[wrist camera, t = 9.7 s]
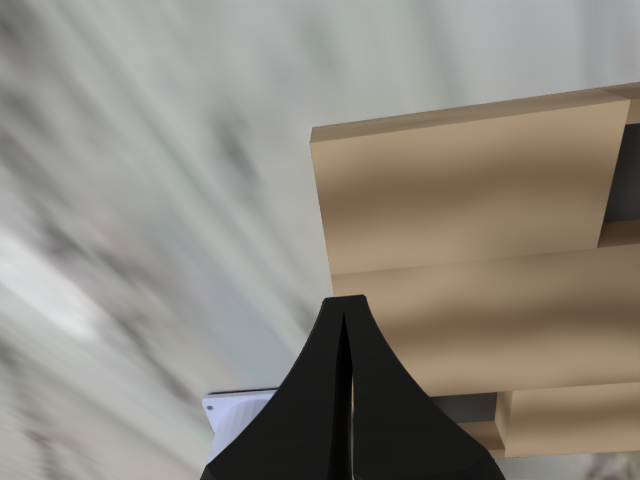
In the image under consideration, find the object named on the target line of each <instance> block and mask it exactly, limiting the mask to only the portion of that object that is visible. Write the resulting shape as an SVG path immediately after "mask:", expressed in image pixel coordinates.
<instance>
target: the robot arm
mask: <svg viewBox="0 0 640 480" xmlns="http://www.w3.org/2000/svg"><path fill="white" fill-rule="evenodd" d="M352 382H353V414H354V444H353V475H354V480H505V478H504V476H503V474H502V472H501V470H500V469H499V467H498V465H497V464H496V462H495V460H494V459H493V457H492V456H491V454H490V453H489V451H488V450H487V449H486V448H485V447H484V446H483V445H481V444H480V443H479V442H478V441H477V440H475V439H474V438H473V437H472V436H470V435H469V434H468V433H467V432H466V431H465V430H463V429H462V428H461V427H460V426H459V425H458V424H457V423H456V422H454V421H453V420H452V419H451V418H450V417H449V416H448V415H447V414H446V413H445V412H444V411H443V410H442V409H441V408H440V407H439V406H438V405H437V404H436V403H435V402H434V401H433V400H432V399H431V398H430V397H429V396H428V395H427V394H426V393H425V392H424V391H423V389H422V388H421V387H420V386H419V385H418V384H417V382H416V381H415V380H414V379H413V378H412V376H411V375H410V374H409V373H408V371H407V370H406V369H405V368H404V366H403V365H402V363H401V362H400V361H399V359H398V358H397V356H396V355H395V353H394V352H393V351H392V349H391V348H390V346H389V344H388V343H387V341H386V340H385V338H384V336H383V334H382V333H381V331H380V329H379V327H378V325H377V323H376V321H375V319H374V317H373V315H372V313H371V310H370V308H369V305H368V302H367V297H366V296H365V295H363V294H360V295H350V296H340V297H329V298H325V299H324V300H323V302H322V306H321V309H320V312H319V315H318V317H317V320H316V322H315V324H314V327H313V329H312V331H311V333H310V335H309V337H308V339H307V342H306V344H305V346H304V347H303V349H302V351H301V353H300V355H299V356H298V358H297V360H296V362H295V364H294V365H293V367H292V368H291V370H290V372H289V373H288V375H287V376H286V378H285V379H284V381H283V382H282V384H281V385H280V387H279V388H278V389H277V390H267V391H254V392H240V393H227V394H214V395H206V396H204V397H203V399H202V405H203V407H204V409H205V412H206V414H207V416H208V418H209V421H210V423H211V425H212V427H213V430H214V432H215V437H214V440H213V444H212V447H211V451H210V455H209V458H208V462H207V465H206V467H205V469H204V471H203V474H202V476H201V478H200V480H352V466H351V409H352Z"/></svg>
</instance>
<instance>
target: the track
mask: <svg viewBox="0 0 640 480" xmlns="http://www.w3.org/2000/svg"><path fill="white" fill-rule="evenodd" d="M310 149H311V155H312V161H313V167H314V173H315V179H316V186H317V192H318V198H319V204H320V210H321V217H322V223H323V229H324V235H325V241H326V247H327V254H328V260H329V266H330V272H331V278H332V285H333V291H334V297H340V296H350V295H360V294H363V295H365V296H366V297H367V302H368V305H369V308H370V310H371V313H372V315H373V317H374V319H375V321H376V323H377V325H378V327H379V329H380V331H381V333H382V334H383V336H384V338H385V340H386V341H387V343H388V344H389V346H390V348H391V349H392V351H393V352H394V353H395V355H396V356H397V358H398V359H399V361H400V362H401V363H402V365H403V366H404V368H405V369H406V370H407V371H408V373H409V374H410V375H411V376H412V378H413V379H414V380H415V381H416V382H417V384H418V385H419V386H420V387H421V388H422V389H423V391H424V392H425V393H426V394H427V395H428V396H429V397H430V398H431V399H432V400H433V401H434V402H435V403H436V404H437V405H438V406H439V407H440V408H441V409H442V410H443V411H444V412H445V413H446V414H447V415H448V416H449V417H450V418H451V419H452V420H453V421H454V422H456V423H457V424H458V425H459V426H460V427H461V428H462V429H463V430H465V431H466V432H467V433H468V434H469V435H470V436H472V437H473V438H474V439H475V440H477V441H478V442H479V443H480V444H481V445H483V446H484V447H485V448H486V449H487V450H488V451H489V453H490V454H491V456H492V457H493V458H510V457H528V456H546V455H565V454H583V453H601V452H619V451H638V450H640V82H638V83H631V84H624V85H616V86H609V87H602V88H595V89H588V90H580V91H573V92H566V93H559V94H552V95H545V96H537V97H530V98H523V99H516V100H509V101H501V102H494V103H487V104H480V105H473V106H466V107H458V108H451V109H444V110H437V111H430V112H423V113H415V114H408V115H401V116H394V117H387V118H379V119H372V120H365V121H358V122H351V123H344V124H336V125H329V126H322V127H315V128H312V133H311V138H310ZM352 408H353V382H352Z"/></svg>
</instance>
